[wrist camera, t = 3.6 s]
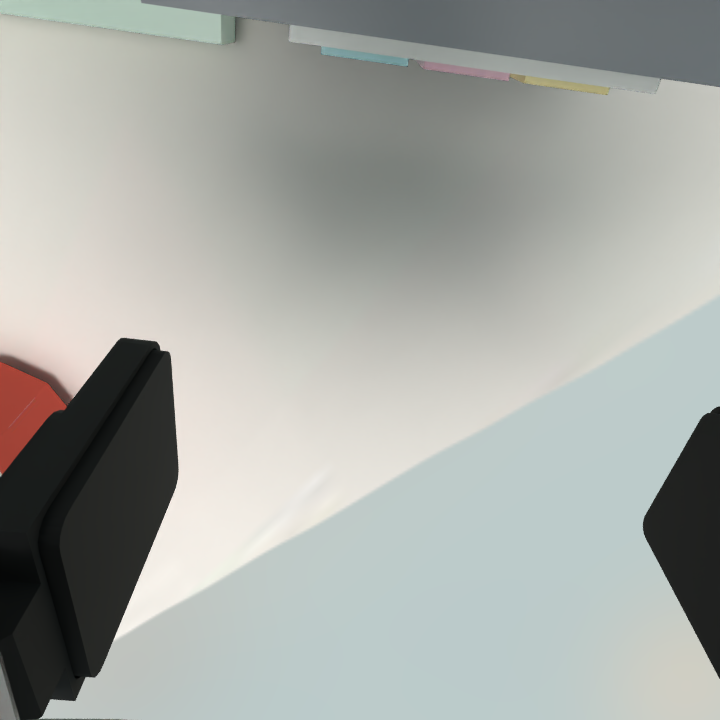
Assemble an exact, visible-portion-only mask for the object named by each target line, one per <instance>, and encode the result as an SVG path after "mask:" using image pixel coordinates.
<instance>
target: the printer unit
mask: <svg viewBox="0 0 720 720" xmlns="http://www.w3.org/2000/svg"><path fill="white" fill-rule="evenodd" d="M141 3H145V4H152V5H158V6H165V7H172V8H179V9H186V10H193V11H200V12H207V13H214V14H220V15H227V16H234V17H241V18H248V19H255V20H262V21H269V22H276V23H282V24H289V25H290V26H289V42H295V43H302V44H309V45H316V46H322V48H321V54H322V55H329V56H336V57H343V58H350V59H357V60H364V61H371V62H378V63H385V64H392V65H399V66H406V67H408V60H409V59H413V60H415V61H416V62H417V63H418V64H419V65H420V66H421V67H422V68H423V69H427V70H434V71H441V72H448V73H455V74H462V75H469V76H476V77H483V78H490V79H497V80H504V81H509V77H511V78H513V79H516V80H518V81H520V82H522V83H525V84H532V85H539V86H546V87H553V88H560V89H567V90H574V91H581V92H589V93H596V94H603V95H608V92H609V89H610V88H616V89H622V90H629V91H636V92H643V93H650V94H656V91H657V88H658V86H659V83H660V80H661V79H668V80H675V81H682V82H689V83H696V84H703V85H710V86H716V87H720V0H141Z"/></svg>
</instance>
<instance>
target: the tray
mask: <svg viewBox="0 0 720 720" xmlns="http://www.w3.org/2000/svg"><path fill="white" fill-rule="evenodd" d="M0 13H1V14H9V15H16V16H23V17H30V18H37V19H44V20H51V21H58V22H65V23H72V24H79V25H86V26H93V27H100V28H107V29H114V30H121V31H128V32H135V33H142V34H149V35H156V36H163V37H170V38H177V39H184V40H191V41H198V42H205V43H212V44H219V45H223V44H227V43H232V42H235V17H234V16H227V15H220V14H214V13H207V12H200V11H193V10H186V9H179V8H172V7H165V6H158V5H152V4H145V3H141V0H0Z"/></svg>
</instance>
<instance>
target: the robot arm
mask: <svg viewBox="0 0 720 720" xmlns="http://www.w3.org/2000/svg"><path fill="white" fill-rule="evenodd" d="M177 480H178V454H177V439H176V425H175V410H174V396H173V381H172V367H171V356H170V353H169V352H168V351H160V346H159V344H158V343H157V342H155V341H147V340H138V339H129V338H121V339H119V340H118V341H117V343H116V344H115V345H114V346H113V348H112V349H111V350H110V352H109V353H108V354H107V356H106V357H105V358H104V359H103V361H102V362H101V363H100V365H99V366H98V367H97V368H96V370H95V371H94V372H93V374H92V375H91V376H90V378H89V379H88V380H87V381H86V383H85V384H84V385H83V387H82V388H81V389H80V390H79V392H78V393H77V394H76V396H75V397H74V398H73V400H72V401H71V402H70V403H69V405H68V406H67V407H66V409H65V410H58V411H55V412H53V413H52V414H51V415H50V416H49V417H48V418H47V419H46V420H45V422H44V423H43V424H42V425H41V427H40V428H39V429H38V430H37V432H36V433H35V434H34V435H33V437H32V438H31V439H30V440H29V442H28V443H27V444H26V445H25V447H24V448H23V449H22V450H21V452H20V453H19V454H18V455H17V457H16V458H15V459H14V460H13V462H12V463H11V464H10V465H9V467H8V468H7V469H6V470H5V472H4V473H3V474H2V475H1V477H0V720H125V719H39V718H40V717H42V716H43V714H44V712H45V709H46V707H47V705H48V703H49V701H50V699H56V700H69V701H75V700H76V698H77V695H78V693H79V691H80V689H81V686H82V684H83V682H84V679H85V677H96V676H97V675H98V673H99V672H100V670H101V668H102V666H103V664H104V661H105V659H106V657H107V654H108V652H109V649H110V647H111V644H112V642H113V640H114V637H115V635H116V632H117V630H118V627H119V625H120V623H121V620H122V618H123V615H124V613H125V610H126V608H127V605H128V603H129V601H130V598H131V596H132V593H133V591H134V588H135V586H136V584H137V581H138V579H139V576H140V574H141V571H142V569H143V567H144V564H145V562H146V559H147V557H148V554H149V552H150V549H151V547H152V545H153V542H154V540H155V537H156V535H157V532H158V530H159V528H160V525H161V523H162V520H163V518H164V515H165V513H166V510H167V508H168V506H169V503H170V501H171V498H172V496H173V493H174V491H175V488H176V484H177ZM643 531H644V535H645V538H646V540H647V542H648V543H649V545H650V547H651V549H652V551H653V553H654V555H655V557H656V559H657V560H658V562H659V564H660V566H661V568H662V570H663V572H664V574H665V576H666V577H667V580H668V581H669V583H670V585H671V587H672V589H673V591H674V593H675V595H676V597H677V599H678V601H679V602H680V604H681V606H682V608H683V610H684V612H685V613H686V616H687V618H688V620H689V621H690V623H691V625H692V627H693V629H694V631H695V633H696V635H697V637H698V638H699V640H700V642H701V644H702V646H703V648H704V650H705V652H706V654H707V656H708V658H709V659H710V661H711V663H712V665H713V667H714V669H715V671H716V673H717V675H718V677H719V678H720V407H716V408H715V409H713V410H712V411H711V413H707V414H705V415H704V416H703V417H702V418H701V419H700V421H699V423H698V425H697V426H696V428H695V430H694V432H693V433H692V435H691V437H690V439H689V440H688V442H687V444H686V446H685V447H684V449H683V451H682V452H681V454H680V456H679V458H678V460H677V461H676V463H675V465H674V466H673V468H672V470H671V472H670V473H669V475H668V477H667V479H666V480H665V482H664V484H663V486H662V488H661V489H660V491H659V492H658V494H657V496H656V498H655V499H654V501H653V503H652V505H651V506H650V508H649V510H648V512H647V513H646V515H645V517H644V521H643Z"/></svg>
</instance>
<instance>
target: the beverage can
mask: <svg viewBox="0 0 720 720" xmlns="http://www.w3.org/2000/svg"><path fill="white" fill-rule="evenodd" d="M66 407H67V406H66V405H65V404H64V402H63V401H62V400H61V399H60V398H59V396H58V395H57V394H56V393H55V392H54V390H53V389H52V388H51V387H50V386H49V384H48V383H46V382H44V381H42V380H40V379H37V378H35V377H33V376H31V375H29V374H26V373H24V372H22V371H20V370H18V369H15V368H13V367H11V366H9V365H7V364H4V363H2V362H0V477H1V475H2V474H3V473H4V472H5V470H6V469H7V468H8V467H9V465H10V464H11V463H12V462H13V460H14V459H15V458H16V457H17V455H18V454H19V453H20V452H21V450H22V449H23V448H24V447H25V445H26V444H27V443H28V442H29V440H30V439H31V438H32V437H33V435H34V434H35V433H36V432H37V430H38V429H39V428H40V427H41V425H42V424H43V423H44V422H45V420H46V419H47V418H48V417H49V416H50V415H51V414H52V413H53V412H55V411H58V410H65V409H66Z"/></svg>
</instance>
